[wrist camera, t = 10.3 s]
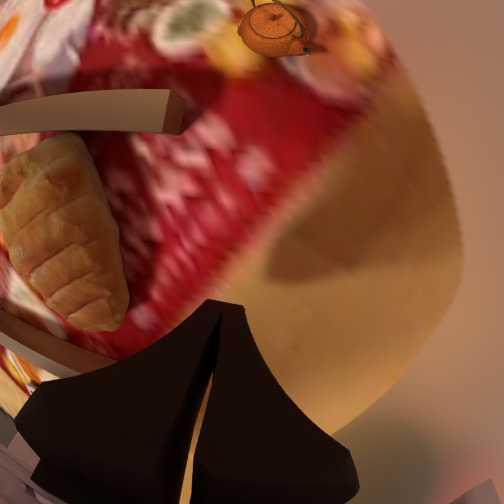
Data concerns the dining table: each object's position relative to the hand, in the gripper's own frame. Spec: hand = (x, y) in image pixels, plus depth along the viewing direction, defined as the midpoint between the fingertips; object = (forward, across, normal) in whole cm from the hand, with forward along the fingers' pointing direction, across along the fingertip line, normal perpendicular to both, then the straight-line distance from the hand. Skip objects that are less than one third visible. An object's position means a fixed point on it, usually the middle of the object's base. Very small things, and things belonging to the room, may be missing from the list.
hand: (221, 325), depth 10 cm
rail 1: (+3, +16, -7) cm, 18 cm away
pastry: (+3, +8, -2) cm, 9 cm away
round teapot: (+3, 0, -11) cm, 12 cm away
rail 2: (+2, +16, +7) cm, 18 cm away
